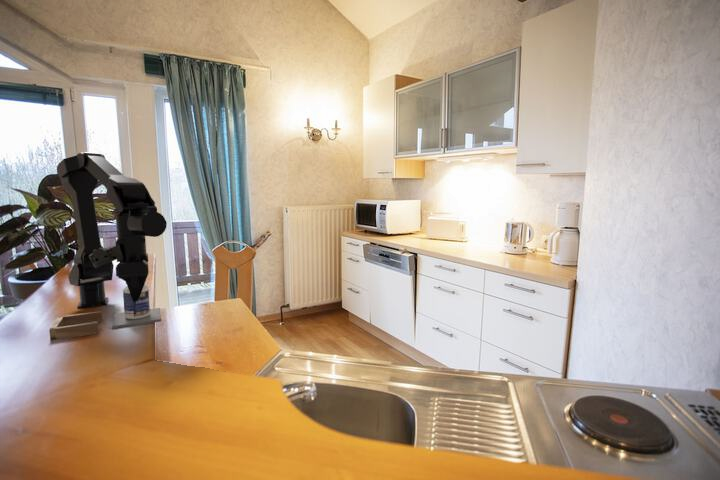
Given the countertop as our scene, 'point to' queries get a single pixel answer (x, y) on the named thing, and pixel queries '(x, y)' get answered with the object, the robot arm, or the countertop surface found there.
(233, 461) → the countertop surface
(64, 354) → the countertop surface
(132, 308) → the pill bottle
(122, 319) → the slate coaster
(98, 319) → the wooden u-shaped frame
